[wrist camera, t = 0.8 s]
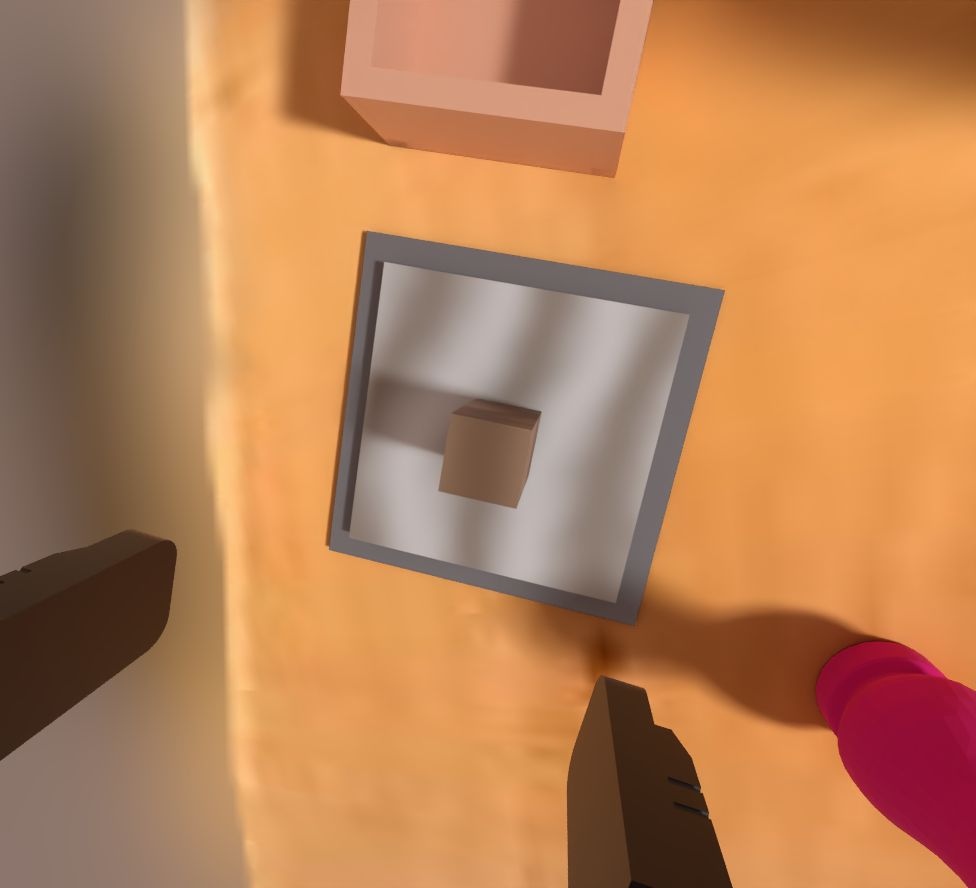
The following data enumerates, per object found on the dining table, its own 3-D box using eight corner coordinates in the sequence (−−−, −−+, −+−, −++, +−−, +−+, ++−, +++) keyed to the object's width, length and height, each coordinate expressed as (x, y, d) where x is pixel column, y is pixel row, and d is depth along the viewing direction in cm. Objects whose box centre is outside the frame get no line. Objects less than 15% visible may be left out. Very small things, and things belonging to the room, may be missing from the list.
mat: (722, 291, 27) (724, 290, 26) (634, 622, 31) (634, 625, 31) (370, 232, 29) (367, 230, 29) (331, 547, 33) (329, 549, 33)
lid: (686, 315, 27) (721, 307, 20) (614, 596, 30) (624, 667, 24) (389, 263, 29) (333, 241, 22) (354, 533, 32) (297, 582, 26)
